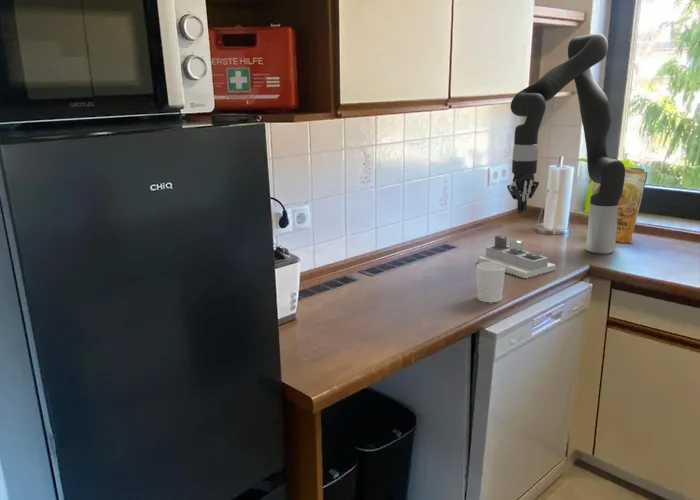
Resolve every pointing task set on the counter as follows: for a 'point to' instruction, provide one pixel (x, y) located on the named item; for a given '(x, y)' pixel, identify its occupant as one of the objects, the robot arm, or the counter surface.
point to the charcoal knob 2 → (532, 256)
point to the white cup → (490, 281)
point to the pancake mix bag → (628, 202)
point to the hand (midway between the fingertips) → (521, 211)
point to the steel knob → (516, 246)
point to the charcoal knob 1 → (500, 241)
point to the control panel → (516, 262)
